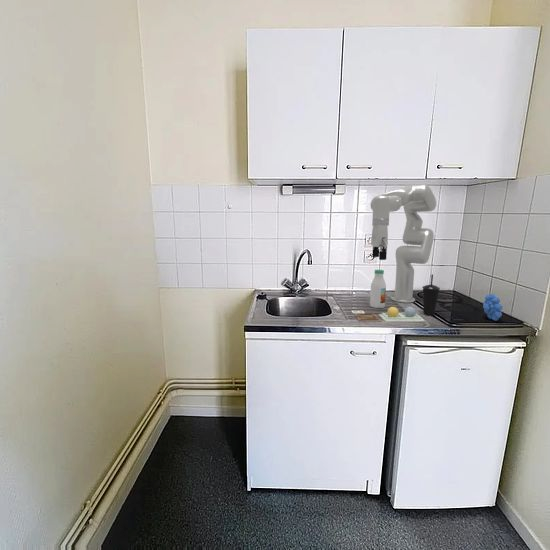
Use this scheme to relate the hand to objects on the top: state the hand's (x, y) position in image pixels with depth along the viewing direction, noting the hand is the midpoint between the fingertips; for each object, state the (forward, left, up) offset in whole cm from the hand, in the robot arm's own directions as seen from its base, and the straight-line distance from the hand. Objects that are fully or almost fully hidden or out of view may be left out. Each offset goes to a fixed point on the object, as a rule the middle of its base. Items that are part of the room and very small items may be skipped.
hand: (379, 258), depth 148 cm
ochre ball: (+8, +5, -25) cm, 27 cm away
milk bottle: (-12, +4, -28) cm, 31 cm away
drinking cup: (+2, +25, -28) cm, 38 cm away
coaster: (+8, -7, -28) cm, 30 cm away
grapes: (+10, +49, -28) cm, 58 cm away
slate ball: (+8, +13, -25) cm, 29 cm away
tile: (-1, -9, -28) cm, 29 cm away
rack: (+8, +9, -28) cm, 30 cm away
